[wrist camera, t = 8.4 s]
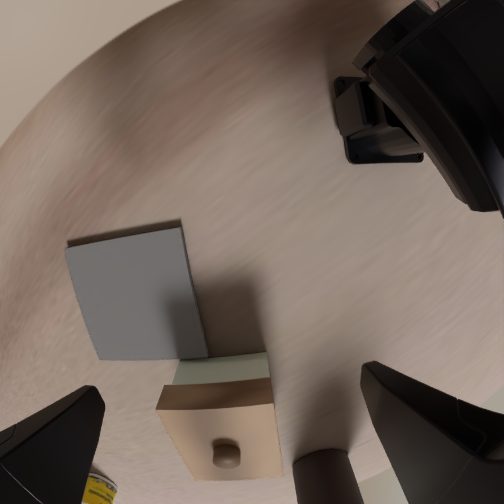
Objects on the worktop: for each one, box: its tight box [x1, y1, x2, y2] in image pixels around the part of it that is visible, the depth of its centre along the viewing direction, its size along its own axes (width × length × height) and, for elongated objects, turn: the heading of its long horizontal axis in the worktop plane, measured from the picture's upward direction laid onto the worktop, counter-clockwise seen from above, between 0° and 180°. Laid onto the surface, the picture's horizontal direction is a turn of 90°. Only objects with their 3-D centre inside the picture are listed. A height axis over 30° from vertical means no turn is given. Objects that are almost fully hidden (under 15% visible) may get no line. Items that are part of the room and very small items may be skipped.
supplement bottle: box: [81, 473, 117, 504], centre depth 22 cm, size 5×5×10 cm
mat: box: [64, 227, 209, 360], centre depth 19 cm, size 10×10×1 cm
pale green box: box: [172, 352, 270, 385], centre depth 19 cm, size 7×7×4 cm
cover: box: [155, 377, 284, 481], centre depth 16 cm, size 7×9×4 cm
